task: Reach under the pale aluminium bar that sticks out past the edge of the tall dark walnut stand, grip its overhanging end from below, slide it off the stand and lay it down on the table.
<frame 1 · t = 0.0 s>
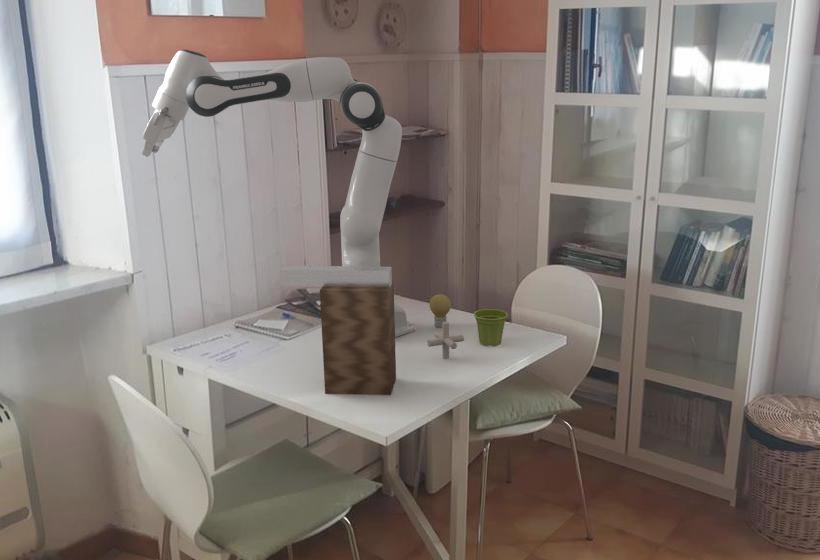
hand: (149, 153, 210), 54 cm above the table, fingers open, 8 cm apart
light bulb: (440, 327, 234), on the table
pipe connector: (445, 358, 209), on the table
aluminium bar: (336, 284, 185), point 26 cm above the table, touching walnut stand
plant pot: (490, 343, 219), on the table
walnut stand: (361, 386, 191), on the table
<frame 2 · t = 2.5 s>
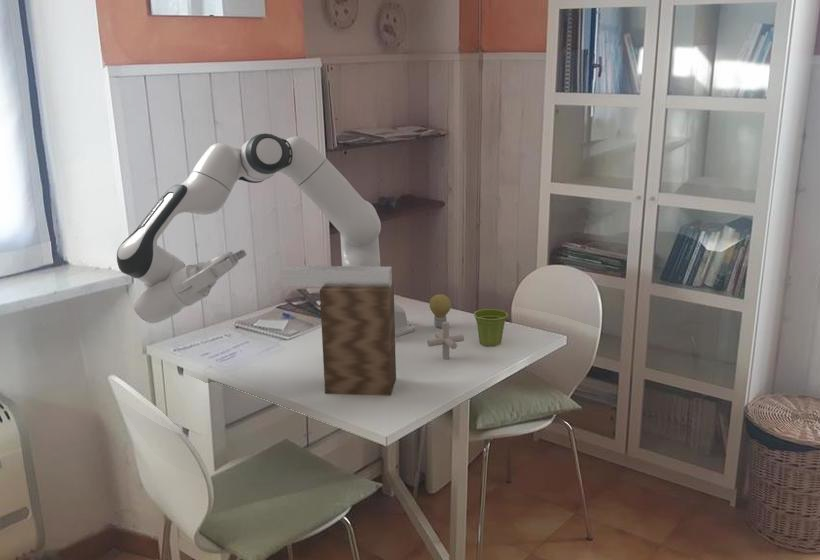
hand: (238, 256, 186), 33 cm above the table, fingers open, 8 cm apart
nothing on the table moved.
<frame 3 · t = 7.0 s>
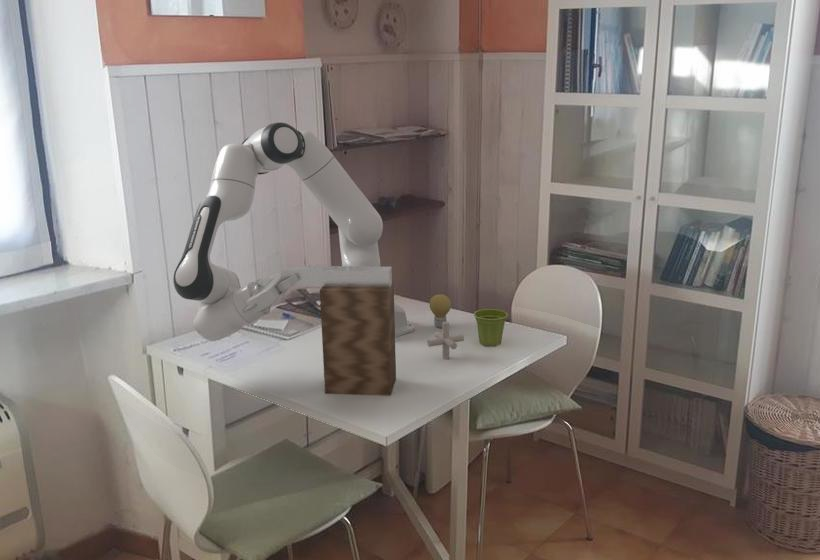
hand: (300, 274, 185), 28 cm above the table, fingers closed on aluminium bar, 4 cm apart
aluminium bar: (336, 284, 185), point 26 cm above the table, touching gripper, walnut stand
everything else where it was.
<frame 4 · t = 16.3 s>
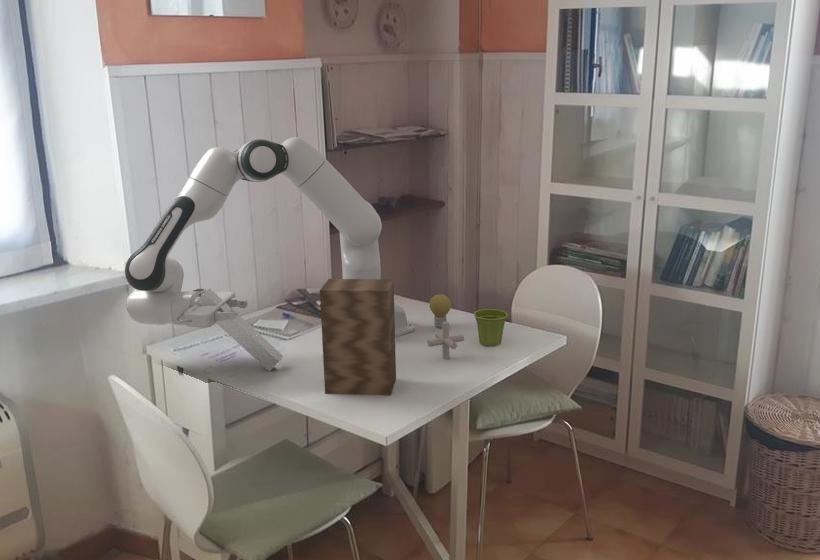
hand: (241, 309, 200), 16 cm above the table, fingers open, 8 cm apart
aluminium bar: (234, 335, 202), point 9 cm above the table, tilted 44°, touching arm
everything else where it was.
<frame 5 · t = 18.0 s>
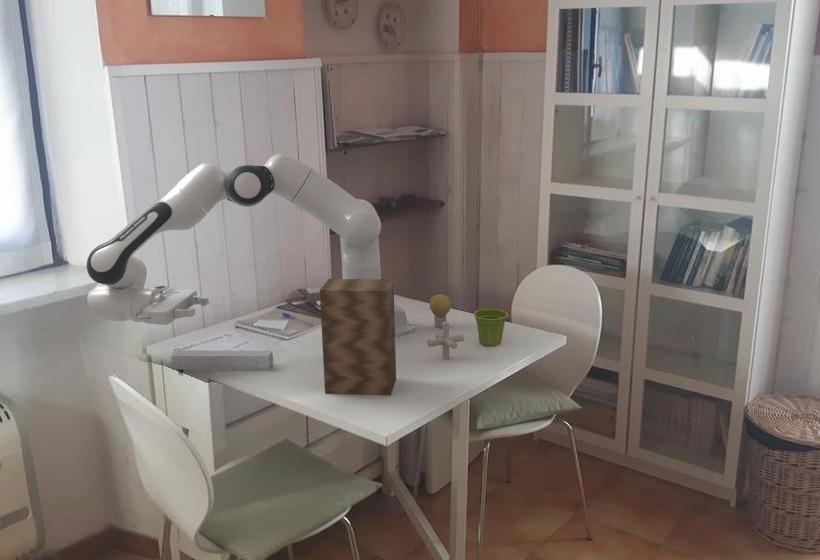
hand: (201, 307, 201), 17 cm above the table, fingers open, 8 cm apart
aluminium bar: (223, 367, 206), on the table
everything else where it was.
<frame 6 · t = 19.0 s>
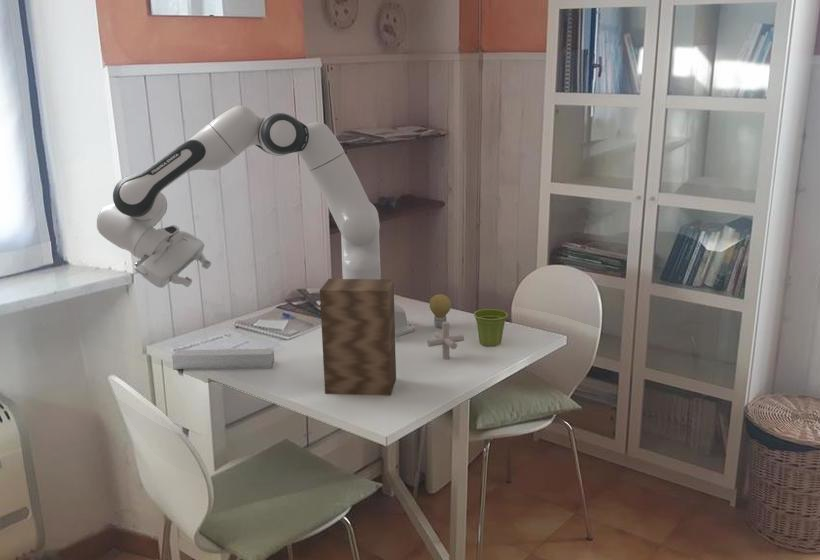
hand: (200, 274, 201), 25 cm above the table, fingers open, 8 cm apart
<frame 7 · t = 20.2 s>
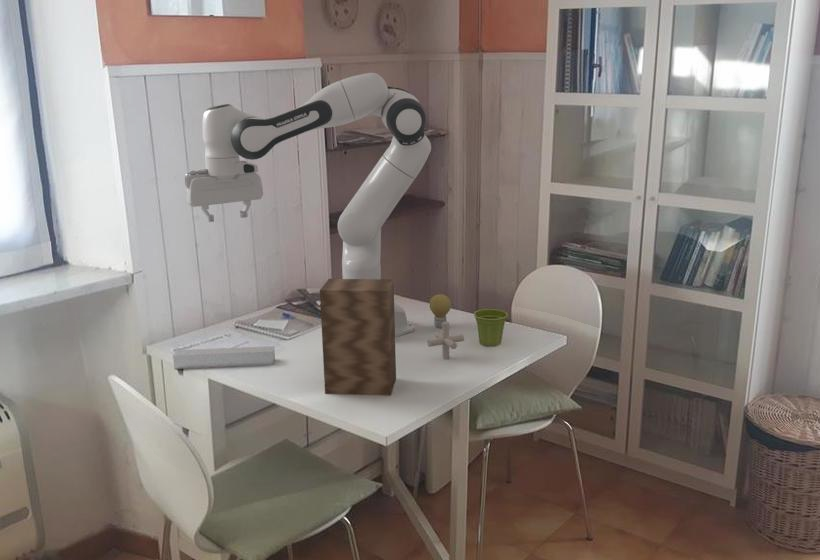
hand: (227, 219, 208), 37 cm above the table, fingers open, 8 cm apart
aluminium bar: (225, 364, 207), on the table
everything else where it was.
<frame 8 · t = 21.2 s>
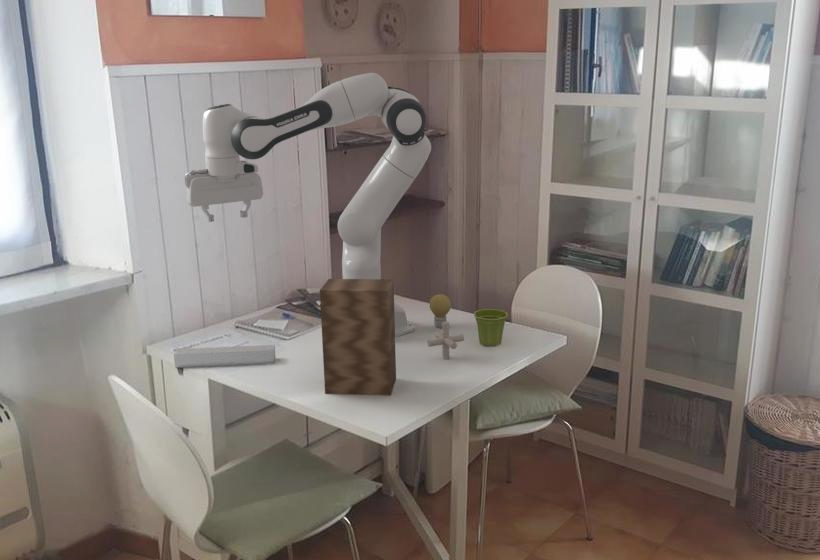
hand: (227, 219, 208), 37 cm above the table, fingers open, 8 cm apart
nothing on the table moved.
at the end: aluminium bar touching table; aluminium bar on the table; the gripper is holding nothing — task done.
